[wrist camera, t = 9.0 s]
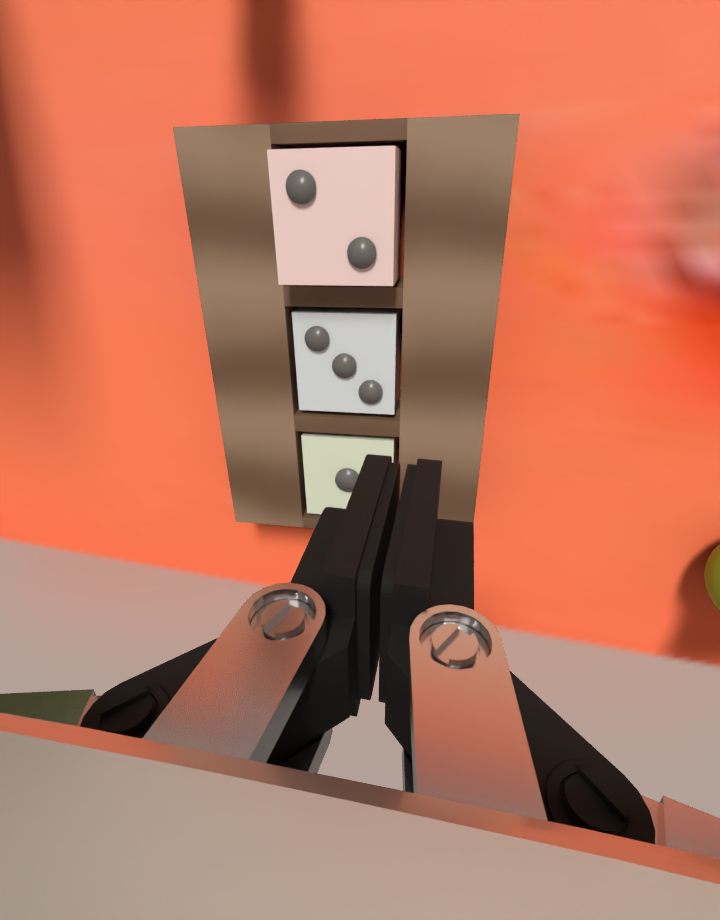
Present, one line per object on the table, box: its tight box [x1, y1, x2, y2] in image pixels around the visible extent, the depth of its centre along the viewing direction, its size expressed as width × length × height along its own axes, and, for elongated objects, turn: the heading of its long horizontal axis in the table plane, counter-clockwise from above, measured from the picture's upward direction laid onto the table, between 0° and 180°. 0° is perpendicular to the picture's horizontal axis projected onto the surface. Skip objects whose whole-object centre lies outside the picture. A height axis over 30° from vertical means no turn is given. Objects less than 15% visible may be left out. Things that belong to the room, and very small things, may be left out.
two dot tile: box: [267, 146, 402, 286], centre depth 21 cm, size 5×5×3 cm
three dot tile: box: [292, 306, 401, 415], centre depth 26 cm, size 5×5×3 cm
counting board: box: [173, 114, 519, 528], centre depth 26 cm, size 20×14×3 cm
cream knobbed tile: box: [301, 432, 398, 514], centre depth 29 cm, size 5×5×3 cm
